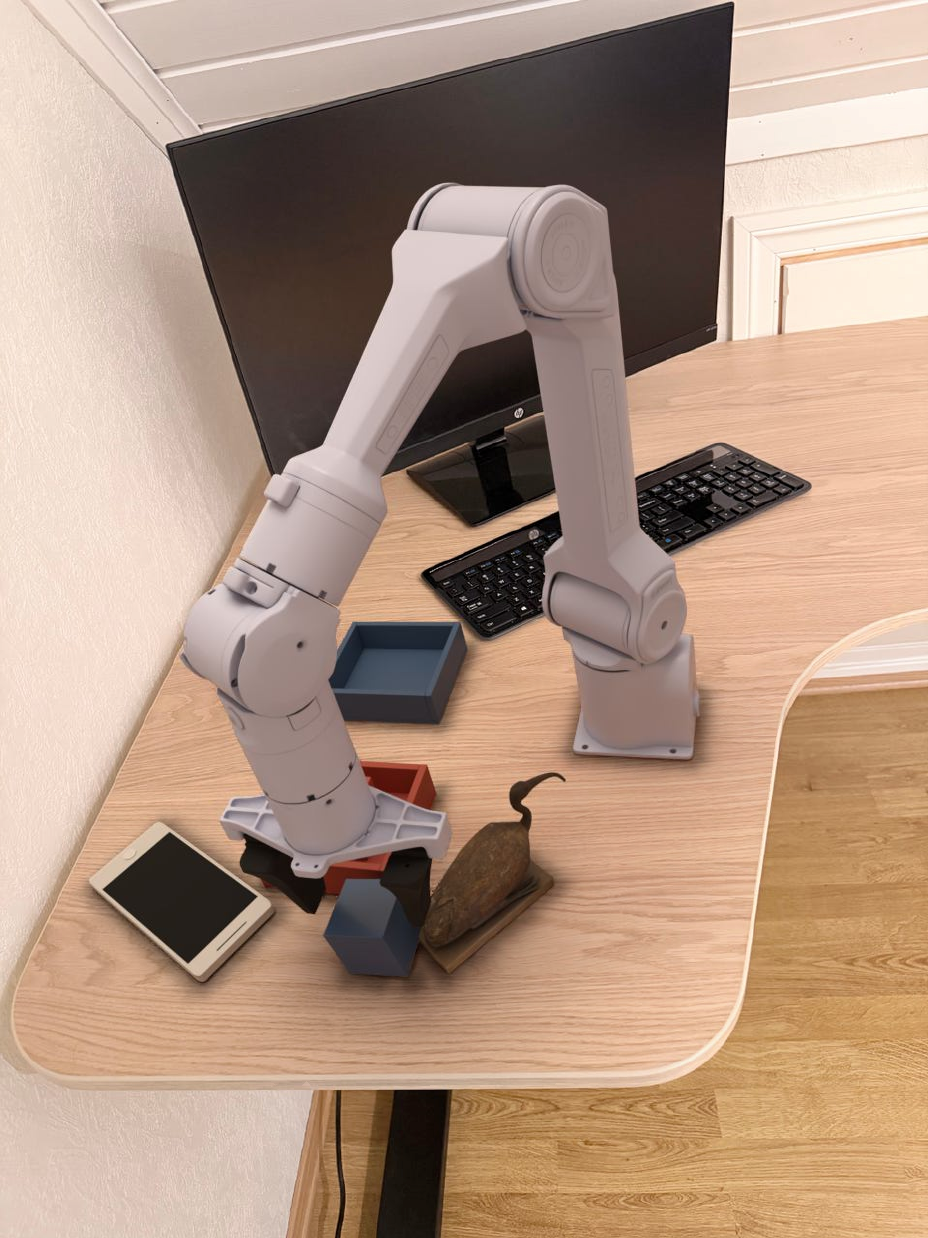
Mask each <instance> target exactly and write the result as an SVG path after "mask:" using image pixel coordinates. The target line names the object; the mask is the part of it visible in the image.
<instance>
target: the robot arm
mask: <svg viewBox="0 0 928 1238" xmlns="http://www.w3.org/2000/svg"><path fill="white" fill-rule="evenodd" d="M608 216H609V215H608V209H607V207H605V206H604V205H603V204H602V203H600V202H598V201H596V200H595V199H593V198H592V197H591V196H588V195H587V194H586V193H585V192H582V191H581V190H579V188H576V187H574V186H571V185H568V184H556V185H550V186H549V185H548V186H545V187H539V186H537V187H536V186H535V187H534V186H493V185H491V186H487V185H464V184H460V183H457V182H443V183H440V184H437V185H434V186H433V187H431V188H429V189H428V190H426V191H425V192H424V193H423V194H422V195H421V197H419V199H418V200H417V202H416V203H415V205H414V207H413V209H412V210H411V213H410V216H409V219H408V222H407V227H406V229H404V231H403V232H402V233H401V235H400V236H399V237H398V238H397V240H396V241H395V243H394V244H393V246H392V249H391V263H392V264H391V265H392V286H391V290H390V292H389V294H388V296H387V299H386V301H385V303H384V305H383V307H382V310H381V311H380V315H379V316H378V319H377V322H376V323H375V325H374V328H373V330H372V333H371V335H370V337H369V339H368V341H367V343H366V346H365V348H364V350H363V352H362V354H361V357H360V360H359V361H358V365H357V366H356V368H355V371H354V373H353V376H352V378H351V380H350V382H349V384H348V387H347V388H346V389H347V390H346V392H345V393H344V396H343V399H342V400H341V403H340V405H339V407H338V410H337V412H336V414H335V416H334V418H333V421H332V423H331V426H330V428H329V430H328V432H327V435H326V437H325V439H324V440H323V443H322V444H321V445H320V446H318V447H316V448H314V449H311V450H309V451H306V452H304V453H301V454H300V453H299V454H298V455H295V456H293V457H291V458H290V459H289V460H288V461H287V463H286V465H285V467H284V468H283V471H282V473H281V474H278V473H275V474H274V473H273V475H272V476H271V478H270V480H269V482H268V484H267V486H266V488H265V490H264V491H263V496H264V497H265V498H266V499H267V501H266V503H265V504H264V506H263V509H262V510H261V512H260V514H259V516H258V518H257V519H256V522H255V523H254V525H253V527H252V529H251V531H250V533H249V535H248V537H247V539H246V540H245V543H244V544H243V546H242V547H241V550H240V552H239V553H238V557H236V559H235V561H234V563H233V565H230V566H229V567H228V569H227V571H226V573H225V575H224V577H223V578H222V579H221V580H222V581H221V583H219V584H217V585H215V586H213V587H212V588H211V589H210V590H209V589H208V591H205V593H203V594H202V595H201V596H200V597H199V598H198V600H196V601H195V603H194V604H193V606H192V607H191V608H190V611H189V613H188V615H187V618H186V621H185V625H184V628H183V635H182V637H184V639H185V642H183V643H182V644H183V646H182V647H183V650H182V651H181V652H180V653H179V659H180V661H181V662H182V663H183V665H184V666H185V667H186V668H187V669H188V670H189V671H190V672H192V673H193V674H194V675H195V676H197V677H199V678H201V679H203V680H206V681H208V682H210V683H211V684H213V685H214V686H215V687H217V689H216V695H217V696H218V699H219V700H220V702H221V704H222V706H223V709H224V710H225V713H226V715H227V718H228V720H229V722H230V723H231V727H232V731H233V733H234V735H235V737H236V739H237V741H238V743H239V745H240V748H241V749H242V751H243V753H244V755H245V758H246V760H247V762H248V765H249V766H250V768H251V770H252V773H253V774H254V776H255V779H256V780H257V783H258V785H259V787H260V789H261V791H262V793H263V794H257V795H248V796H232V797H231V798H230V800H229V802H228V803H227V804H226V807H225V809H224V811H223V812H222V814H221V815H220V817H219V819H218V821H219V823H220V825H221V827H222V829H223V831H224V833H225V834H226V836H227V838H228V840H229V841H239V842H240V841H245V842H244V846H245V848H244V850H243V852H242V854H241V856H240V858H239V867H240V869H241V871H242V873H243V874H247V875H249V876H253V877H255V878H257V879H260V880H261V879H262V880H264V881H266V882H268V883H269V884H271V885H273V886H274V887H273V888H276V889H277V890H278V891H280V892H281V893H283V895H284V896H286V897H287V898H288V899H289V900H290V901H292V902H293V903H294V904H295V905H296V906H297V907H298V908H300V909H301V910H302V911H304V913H305V914H308V915H316V914H317V912H318V909H319V907H320V905H321V902H322V900H323V898H324V895H325V894H326V893H325V891H326V886H325V882H324V878H323V876H324V875H325V874H326V872H327V870H328V868H329V866H330V865H332V864H334V863H339V862H344V861H349V860H354V859H359V858H364V857H369V856H374V855H378V854H383V853H388V852H391V855H390V856H389V858H388V861H387V863H386V866H385V869H384V871H383V874H382V877H381V879H380V885H381V886H382V887H384V888H386V889H388V890H389V891H390V892H392V893H393V894H394V896H395V897H396V898H397V899H398V901H399V902H400V904H401V905H402V908H403V910H404V913H405V915H406V917H407V919H408V921H409V922H410V924H411V925H412V926H416V927H422V926H424V923H425V920H426V917H427V914H428V911H429V908H430V904H431V895H432V894H431V874H432V873H431V871H432V864H433V860H435V859H436V860H445V859H446V856H447V852H448V850H449V847H450V844H451V841H452V837H453V834H454V833H453V829H452V826H451V822H450V819H449V816H448V813H447V812H445V811H437V810H432V809H431V810H427V809H424V808H421V807H419V806H416V805H414V804H411V803H409V802H407V801H404V800H402V799H400V798H397V797H395V796H393V795H390V794H388V793H386V792H383V791H381V790H378V789H376V788H374V787H371V786H369V785H368V782H367V780H366V777H365V774H364V772H363V769H362V766H361V764H360V761H361V760H360V758H359V755H358V753H357V751H356V748H355V745H354V743H353V740H352V737H351V734H350V733H349V730H348V727H347V725H346V721H344V719H343V717H342V714H341V711H340V709H339V706H338V703H337V701H336V698H335V695H334V693H333V690H332V688H331V686H330V683H329V681H328V679H329V678H330V676H331V675H332V674H333V672H334V668H335V664H336V659H337V650H338V641H337V630H338V627H339V625H340V623H341V622H342V619H341V618H340V616H341V614H342V611H341V610H340V609H339V606H340V605H341V603H342V601H343V599H344V597H345V595H346V594H347V591H348V590H349V587H350V586H351V584H352V582H353V580H354V578H355V576H356V575H357V572H358V570H359V568H361V567H360V566H361V565H362V563H363V561H364V559H365V557H366V554H368V551H369V549H370V547H371V545H372V543H373V542H374V540H375V538H376V536H377V534H378V532H379V530H380V528H381V526H382V524H383V522H384V520H385V518H386V517H387V515H388V512H389V511H388V505H387V500H386V497H385V492H384V488H383V483H382V476H383V475H384V474H385V472H386V470H387V469H388V467H389V465H390V463H391V462H392V460H393V459H394V457H395V456H396V454H397V452H398V451H399V449H400V447H401V446H402V444H403V443H404V441H405V440H406V438H407V436H408V434H409V433H410V431H411V430H412V428H413V427H414V425H415V423H416V422H417V420H418V419H419V416H420V415H421V413H422V412H423V411H424V409H425V407H426V405H427V404H428V403H429V401H430V399H431V397H432V396H433V394H434V392H435V391H436V389H437V388H438V386H439V384H440V383H441V381H442V380H443V378H444V377H445V376H446V373H447V372H448V370H449V368H450V367H451V365H452V364H453V362H454V360H455V359H456V357H457V356H458V354H459V353H461V352H462V351H464V350H467V349H471V348H475V347H478V346H481V345H484V344H488V343H492V342H495V341H497V340H501V339H504V338H508V337H511V336H515V335H519V334H520V333H523V332H524V331H525V330H526V331H527V332H528V333H529V334H530V336H531V340H532V345H533V346H532V347H533V353H534V360H535V365H536V372H537V379H538V384H539V391H540V398H541V405H542V410H543V411H542V412H543V417H544V425H545V430H546V436H547V443H548V450H549V455H550V462H551V469H552V473H553V482H554V488H555V489H554V490H555V494H556V501H557V506H558V513H559V521H560V526H561V527H560V528H561V534H562V536H560V537H559V538H558V539H557V540H556V541H555V542H553V544H552V545H551V546H550V547H549V548H548V549H547V551H546V552H545V554H543V563H544V571H545V573H544V575H545V577H544V583H543V587H542V592H541V593H542V595H541V606H542V611H543V614H544V616H545V618H546V620H548V621H549V623H551V624H553V625H555V626H556V627H561V632H562V637H563V640H564V641H566V642H567V643H568V644H569V645H570V648H571V653H572V659H573V666H574V671H575V677H576V684H577V689H578V690H577V691H578V695H579V701H580V707H581V709H580V712H579V718H578V723H577V727H576V730H575V736H574V741H573V745H572V751H573V753H574V754H576V755H585V756H588V755H590V756H609V757H625V758H626V757H627V758H628V757H629V758H630V757H631V758H648V759H649V758H650V759H666V760H667V759H668V760H669V759H672V760H690V759H692V758H693V756H694V746H695V733H696V724H697V718H699V717H700V711H701V709H700V707H701V702H700V701H701V699H700V694H699V690H698V682H697V665H696V649H695V648H696V647H695V639H694V636H693V634H690V633H683V632H684V628H685V625H686V622H687V618H688V617H687V615H688V603H687V599H686V593H685V591H684V588H683V587H682V586H681V585H680V583H679V581H678V578H677V568H676V562H675V560H674V559H673V558H672V557H671V556H670V555H669V554H668V553H667V552H666V551H665V550H663V548H662V547H661V546H659V545H658V544H657V542H655V541H654V540H653V538H651V537H650V536H649V535H648V534H646V532H645V531H644V530H643V529H642V528H641V526H640V519H639V518H640V517H639V516H640V515H639V506H638V497H637V486H636V476H635V475H636V474H635V464H634V454H633V444H632V434H631V424H630V423H631V421H630V411H629V402H628V391H627V381H626V369H625V358H624V350H623V338H622V328H621V319H620V318H621V317H620V307H619V297H618V288H617V281H616V277H615V274H614V268H613V257H612V249H611V237H610V228H609V217H608ZM337 607H338V608H337Z"/></svg>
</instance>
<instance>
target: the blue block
mask: <svg viewBox="0 0 928 1238" xmlns="http://www.w3.org/2000/svg"><path fill="white" fill-rule="evenodd" d="M336 900H337V901H336V903H335V905H334V906H333V907H334V908H333V910H332V913H331V915H330V917H329V920H328V922H327V925H326V927H325V929H324V931H323V935H322V936H323V938H324V939H325V941H326V942H327V944H328V945H329V947H331V949H332V950H333V952H334V954H335V955H336V957H337V958H338V959H339V961H340V962H341V964H342V965H343V967H344V968H345V969H346V971H347V972H348V973H349V974H350V975H367V976H369V975H370V976H385V977H387V976H388V977H403V978H404V977H405V978H407V977H408V976H409V973H410V970H411V967H412V964H413V960H414V958H415V954H416V951H417V948H418V944H419V943H420V941H419V934H420V931H421V928H422V927H416V926H412V925H411V924H410V922H409V921H408V919H407V917H406V915H405V913H404V910H403V908H402V905H401V904H400V902H399V901H398V899H397V898H396V897H395V896H394V894H393V893H392V892H390V891H389V890H388V889H386V888H384V887H382V886H381V885H380V879H346V880H345V883H344V885H343V888H342V890H341V893H340V894H338V898H337V899H336Z"/></svg>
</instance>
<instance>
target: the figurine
mask: <svg viewBox="0 0 928 1238" xmlns="http://www.w3.org/2000/svg"><path fill="white" fill-rule="evenodd" d="M550 778H558V779H560V780H561V781H562V782H563V783H565V782H567V781H566V778H565V776H563V775H562V774H560V773H559V772H555V771H550V772H544V773H542V774H538V775H536V776H534V777H531V778H529V779H526V780H519V781H517V782H515V783H514V784H513V785H512V786H511V787H510V789H509V793H508V798H509V804H510V807H511V808H512V809H513V811H515V812H517V813H519V814H521V815H522V816H521V818H520V820H519V821H498V822H497V821H492V822H489V823H486V825H485V826H483V827H482V828H480V829H479V830H478V831H477V832H476V833H474V835H472V836H471V838H470V839H469V840H468V841H466V843H465V844H464V846H462V847H461V849H460V850H459V852H458V853H457V855H456V856H455V857H454V859H453V860H452V862H451V864H450V865H449V866H448V868H447V870H445V872H444V873H443V875H442V877H441V878H440V880H439V882H438V883H437V885H436V887H435V889H433V892H432V893H431V894H430V895H431V904H430V908H429V911H428V914H427V917H426V920H425V923H424V926H422V928H421V931H420V934H419V943H420V944H421V945H422V946H423V948H425V949H426V951H427V952H428V953H429V954H430V955H431V956H432V957H433V959H434V960H435V961H436V962H437V963H438V964H439V965H440V967H442V969H443V970H444V971H445V972H446V973H447V974H448V975H450V974H451V973H452V972H453V971H454V970H455V969H457V968H458V967H459V966H460V965H461V964H463V963H464V962H465V961H466V960H467V959H469V958H470V957H471V956H472V955H473V954H475V953H476V952H477V951H478V950H479V949H480V948H482V946H484V945H485V944H486V943H487V942H489V940H491V939H492V938H493V937H494V936H495V935H497V934H498V933H499V932H500V931H501V930H502V929H503V928H504V927H506V926H507V925H508V924H510V923H511V922H512V921H513V920H514V919H515V918H516V917H518V916H519V915H520V914H521V913H522V912H523V911H525V910H526V909H528V908H529V906H530V905H532V904H533V903H534V902H535V901H536V900H538V899H539V898H540V897H541V896H542V895H544V894H545V893H546V892H547V891H548V890H549V889H551V888H552V887H554V885H555V879H554V877H553V876H552V875H551V874H549V873H548V872H547V870H545V869H543V868H542V867H541V866H540V865H538V864H537V863H536V862H535V861H534V860H532V859H531V846H530V845H531V844H530V830H531V827H532V822H533V821H532V820H533V816H532V815H533V814H532V812H531V810H530V808H529V807H527V806H526V805H524V804H523V803H522V801H523V800H524V799H525V798H526V797H527V796H528V795H529V794H530V793H531V791H532V790H533V789H534V788H536V787H537V786H539V784H541V783H543V782H544V781H546V780H548V779H550Z"/></svg>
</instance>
